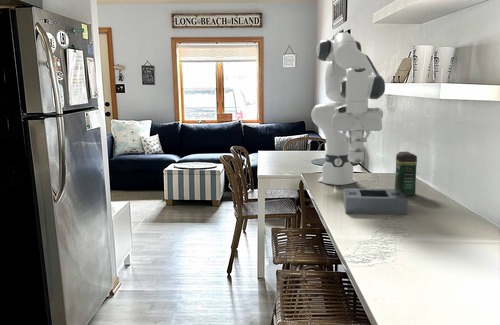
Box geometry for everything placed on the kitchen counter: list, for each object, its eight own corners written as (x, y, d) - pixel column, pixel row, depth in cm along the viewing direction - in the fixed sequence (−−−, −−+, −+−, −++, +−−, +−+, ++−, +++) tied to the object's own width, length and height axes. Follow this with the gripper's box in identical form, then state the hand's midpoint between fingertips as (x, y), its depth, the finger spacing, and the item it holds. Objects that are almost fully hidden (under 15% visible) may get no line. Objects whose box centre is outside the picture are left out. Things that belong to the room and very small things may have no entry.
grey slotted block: (343, 202, 174) (343, 187, 173) (399, 203, 170) (399, 188, 169) (345, 213, 159) (345, 197, 158) (406, 214, 156) (407, 198, 155)
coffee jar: (417, 196, 179) (419, 153, 176) (398, 197, 180) (400, 154, 177) (410, 191, 189) (412, 150, 186) (392, 191, 190) (394, 150, 186)
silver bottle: (357, 165, 171) (358, 115, 168) (344, 162, 176) (345, 114, 173) (367, 162, 175) (368, 114, 172) (353, 160, 180) (354, 113, 177)
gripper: (382, 107, 173) (381, 140, 176) (331, 108, 176) (330, 140, 179) (384, 108, 167) (383, 142, 170) (331, 109, 170) (331, 143, 173)
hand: (355, 141), depth 174 cm, fingers closed on silver bottle, 6 cm apart
